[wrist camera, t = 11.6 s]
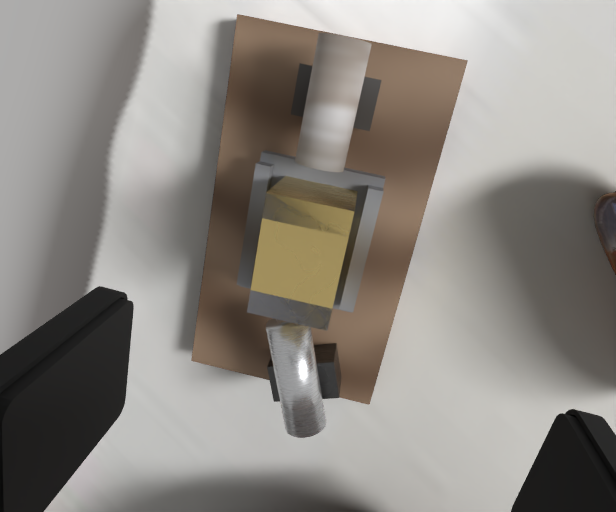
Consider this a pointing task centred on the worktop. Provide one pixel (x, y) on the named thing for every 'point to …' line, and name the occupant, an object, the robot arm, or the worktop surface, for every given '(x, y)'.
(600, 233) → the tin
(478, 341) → the worktop surface
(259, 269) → the coupler
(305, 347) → the shaft
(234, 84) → the rig
